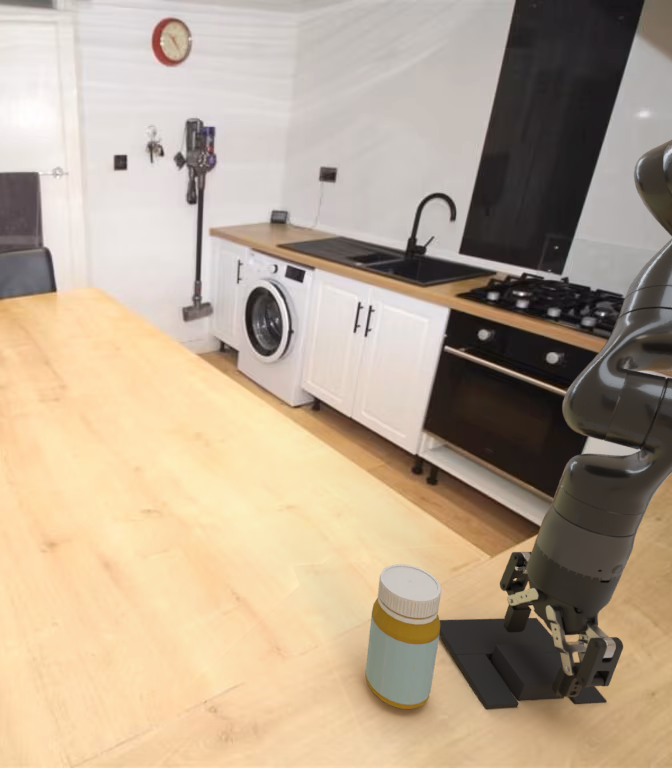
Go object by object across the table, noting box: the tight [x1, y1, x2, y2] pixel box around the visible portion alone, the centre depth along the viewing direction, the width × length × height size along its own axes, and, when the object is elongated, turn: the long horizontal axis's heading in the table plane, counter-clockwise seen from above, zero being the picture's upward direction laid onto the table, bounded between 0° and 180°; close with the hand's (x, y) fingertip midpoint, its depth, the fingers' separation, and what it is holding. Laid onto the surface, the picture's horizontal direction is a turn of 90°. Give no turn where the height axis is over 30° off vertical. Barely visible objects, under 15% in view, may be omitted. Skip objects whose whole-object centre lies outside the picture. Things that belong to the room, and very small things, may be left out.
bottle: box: [365, 563, 442, 710], centre depth 62 cm, size 7×7×15 cm
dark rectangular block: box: [489, 644, 565, 702], centre depth 64 cm, size 5×5×3 cm
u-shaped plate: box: [439, 617, 608, 710], centre depth 67 cm, size 14×12×1 cm
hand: (536, 659), depth 63 cm, fingers open, 8 cm apart
